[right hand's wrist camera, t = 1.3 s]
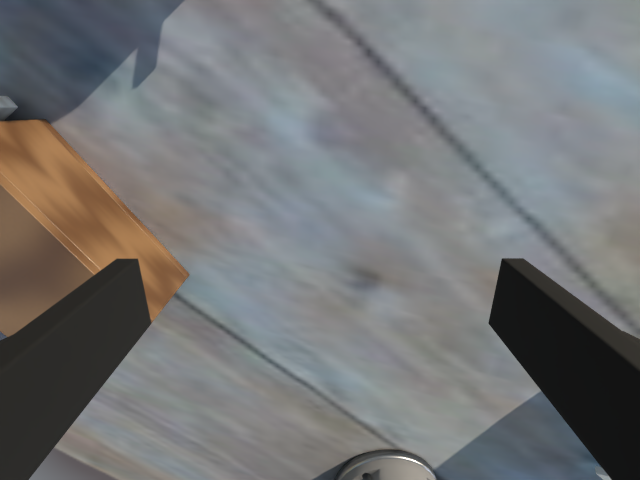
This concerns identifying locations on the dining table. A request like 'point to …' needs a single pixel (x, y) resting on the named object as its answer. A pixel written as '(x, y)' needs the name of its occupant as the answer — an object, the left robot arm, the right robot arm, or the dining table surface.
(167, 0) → the dining table surface
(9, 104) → the drawer
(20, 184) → the cabinet
